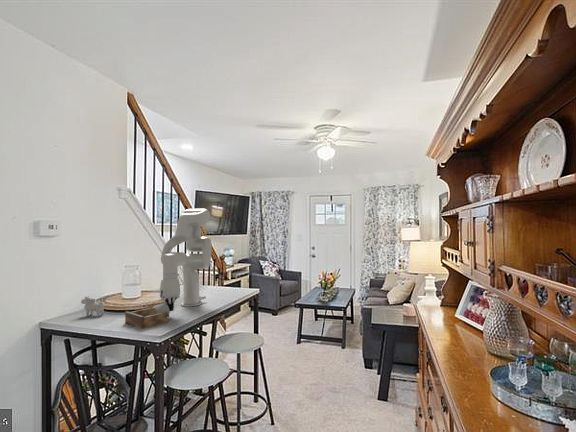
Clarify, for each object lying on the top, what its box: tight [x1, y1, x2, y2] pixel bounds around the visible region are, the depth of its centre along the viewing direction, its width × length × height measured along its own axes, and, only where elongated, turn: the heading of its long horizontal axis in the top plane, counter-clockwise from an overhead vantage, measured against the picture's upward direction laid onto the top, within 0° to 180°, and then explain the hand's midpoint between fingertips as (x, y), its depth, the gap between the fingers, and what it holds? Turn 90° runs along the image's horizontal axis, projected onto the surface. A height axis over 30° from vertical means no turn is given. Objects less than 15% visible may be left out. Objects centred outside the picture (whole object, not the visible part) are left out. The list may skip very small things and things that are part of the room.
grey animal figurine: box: [80, 295, 105, 318], centre depth 189 cm, size 5×13×11 cm, turn 83°
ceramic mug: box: [149, 302, 171, 321], centre depth 177 cm, size 11×8×8 cm
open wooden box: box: [124, 307, 169, 329], centre depth 172 cm, size 14×16×6 cm
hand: (170, 310), depth 182 cm, fingers closed
